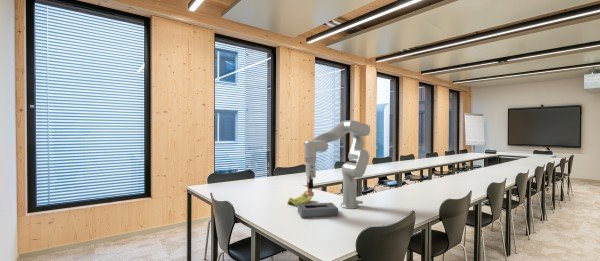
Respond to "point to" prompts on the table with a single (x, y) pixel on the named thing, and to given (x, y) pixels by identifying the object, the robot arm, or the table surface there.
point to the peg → (309, 191)
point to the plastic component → (300, 199)
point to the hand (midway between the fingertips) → (310, 187)
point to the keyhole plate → (317, 210)
